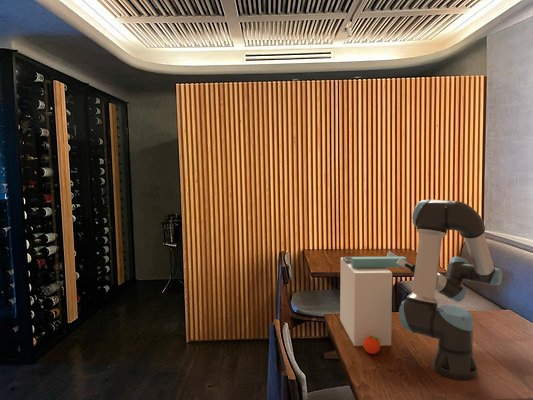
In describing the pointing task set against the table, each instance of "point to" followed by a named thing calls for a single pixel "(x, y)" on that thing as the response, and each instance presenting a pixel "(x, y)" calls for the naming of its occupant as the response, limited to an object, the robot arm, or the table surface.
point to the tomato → (371, 344)
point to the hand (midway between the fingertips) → (392, 256)
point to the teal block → (375, 262)
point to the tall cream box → (365, 302)
